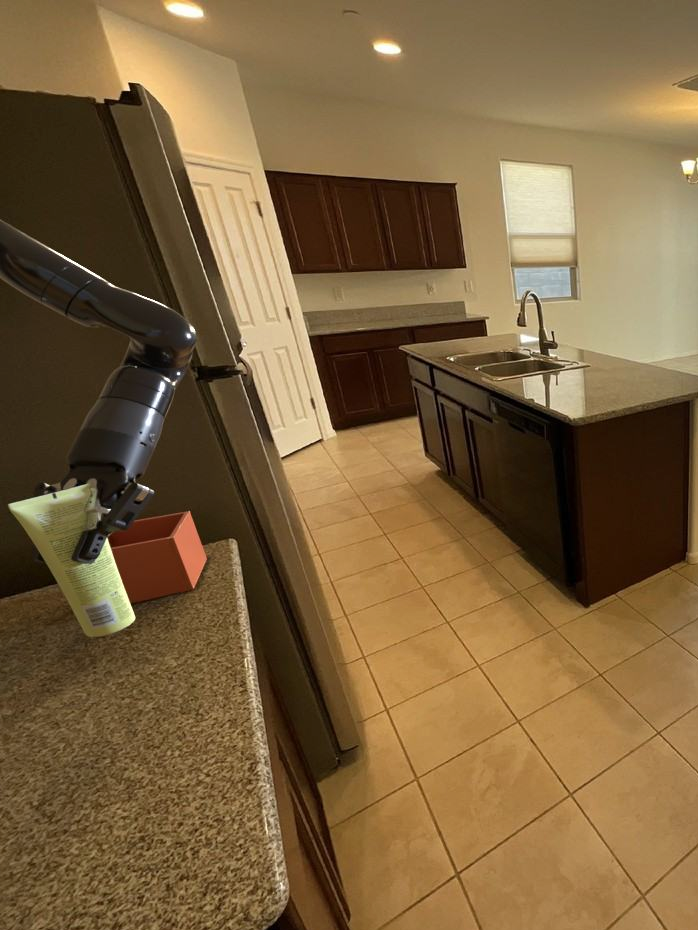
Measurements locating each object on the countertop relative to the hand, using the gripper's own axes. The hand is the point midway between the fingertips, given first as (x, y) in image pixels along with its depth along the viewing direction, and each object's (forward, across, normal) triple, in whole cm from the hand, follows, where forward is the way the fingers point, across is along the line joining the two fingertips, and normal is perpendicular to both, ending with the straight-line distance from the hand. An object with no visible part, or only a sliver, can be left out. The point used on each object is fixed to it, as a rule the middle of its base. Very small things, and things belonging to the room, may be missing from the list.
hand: (63, 561), depth 64 cm
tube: (+7, 0, +9) cm, 11 cm away
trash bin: (-4, -17, +31) cm, 36 cm away
